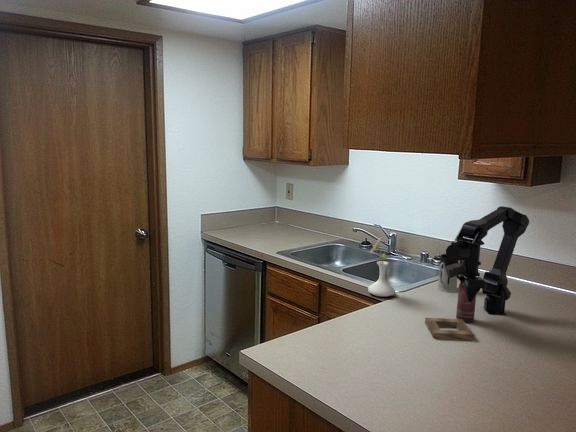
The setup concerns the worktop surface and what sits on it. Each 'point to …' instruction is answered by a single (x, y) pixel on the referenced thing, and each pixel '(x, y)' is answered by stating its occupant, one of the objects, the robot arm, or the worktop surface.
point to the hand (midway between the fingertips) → (467, 299)
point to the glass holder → (444, 281)
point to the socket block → (461, 334)
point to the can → (465, 305)
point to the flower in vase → (381, 277)
